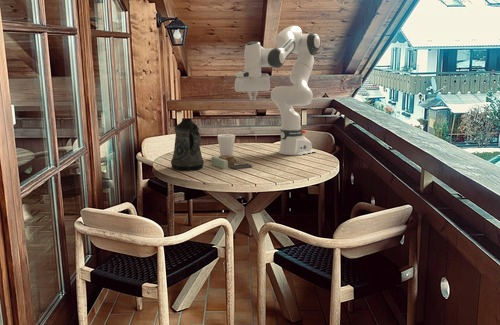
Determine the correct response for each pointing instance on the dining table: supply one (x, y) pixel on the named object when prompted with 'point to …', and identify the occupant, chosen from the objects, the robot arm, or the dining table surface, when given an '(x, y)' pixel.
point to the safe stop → (220, 162)
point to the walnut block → (228, 159)
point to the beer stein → (187, 147)
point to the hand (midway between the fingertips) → (252, 100)
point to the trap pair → (240, 166)
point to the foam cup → (226, 144)
